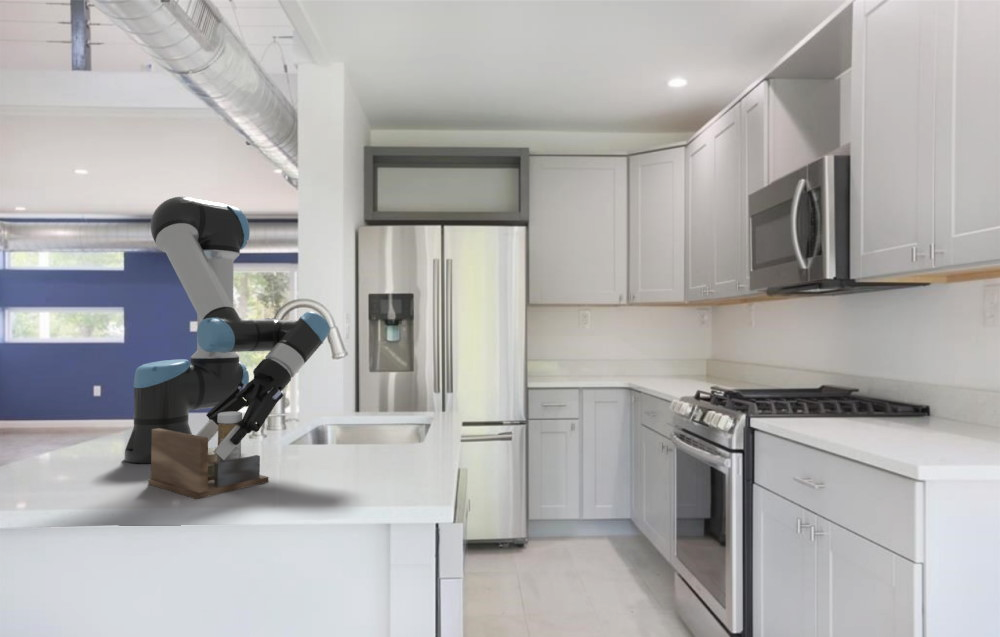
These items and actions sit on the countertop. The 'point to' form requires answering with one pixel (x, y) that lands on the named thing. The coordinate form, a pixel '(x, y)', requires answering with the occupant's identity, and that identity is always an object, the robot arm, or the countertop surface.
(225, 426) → the sprinkles bottle
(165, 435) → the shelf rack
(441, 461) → the countertop surface
